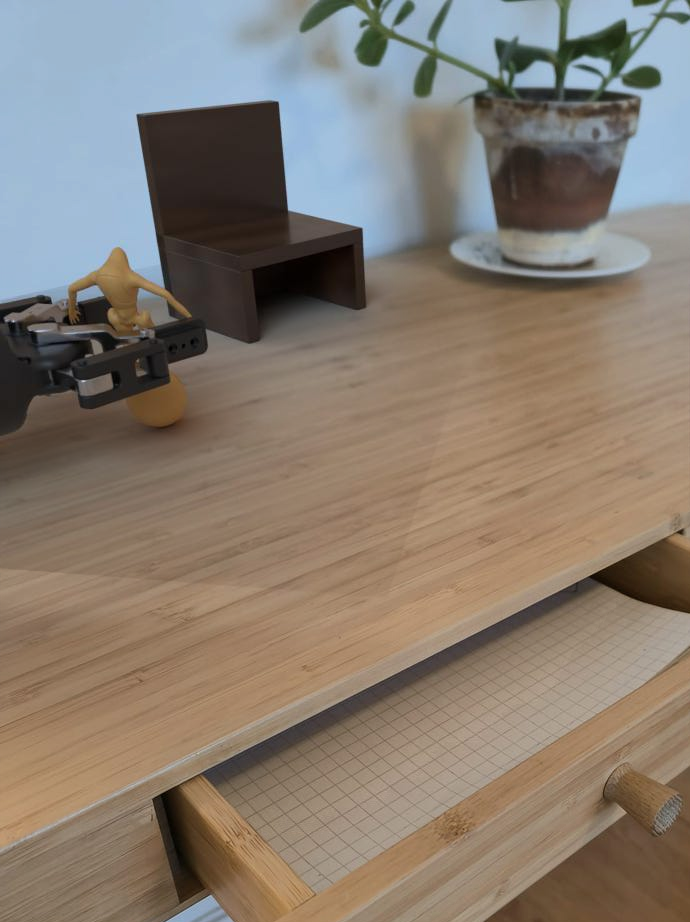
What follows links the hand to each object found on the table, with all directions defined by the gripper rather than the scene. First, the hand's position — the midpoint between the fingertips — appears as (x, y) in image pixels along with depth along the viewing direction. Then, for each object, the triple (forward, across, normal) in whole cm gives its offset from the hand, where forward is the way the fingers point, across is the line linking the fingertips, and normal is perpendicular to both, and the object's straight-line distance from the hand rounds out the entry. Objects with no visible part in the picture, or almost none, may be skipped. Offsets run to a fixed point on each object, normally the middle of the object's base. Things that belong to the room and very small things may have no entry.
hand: (166, 320), depth 62 cm
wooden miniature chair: (+21, +15, +7) cm, 27 cm away
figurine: (-2, 0, +7) cm, 8 cm away
